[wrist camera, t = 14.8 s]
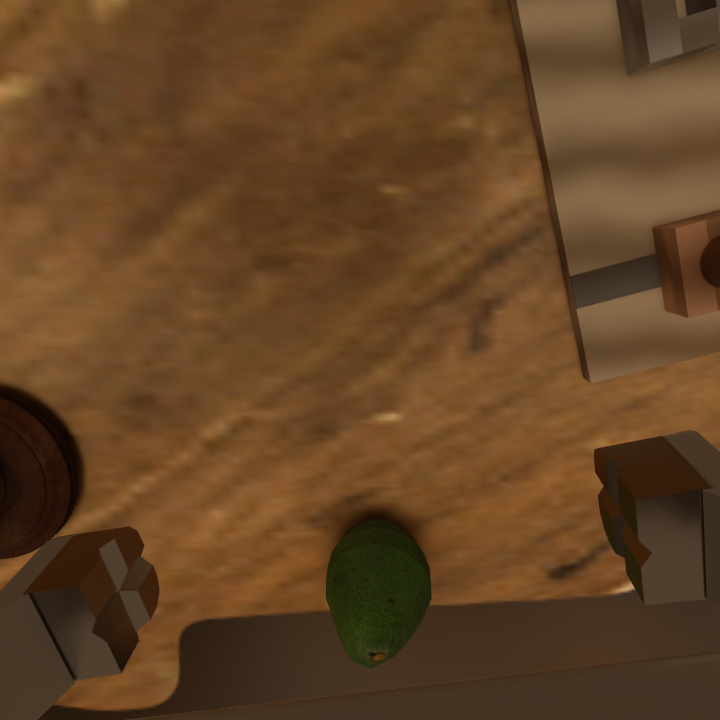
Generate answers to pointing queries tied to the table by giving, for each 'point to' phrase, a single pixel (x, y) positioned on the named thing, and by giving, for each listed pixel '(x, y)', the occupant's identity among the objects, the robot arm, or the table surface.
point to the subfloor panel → (629, 170)
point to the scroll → (32, 477)
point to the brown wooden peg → (711, 262)
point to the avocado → (377, 590)
